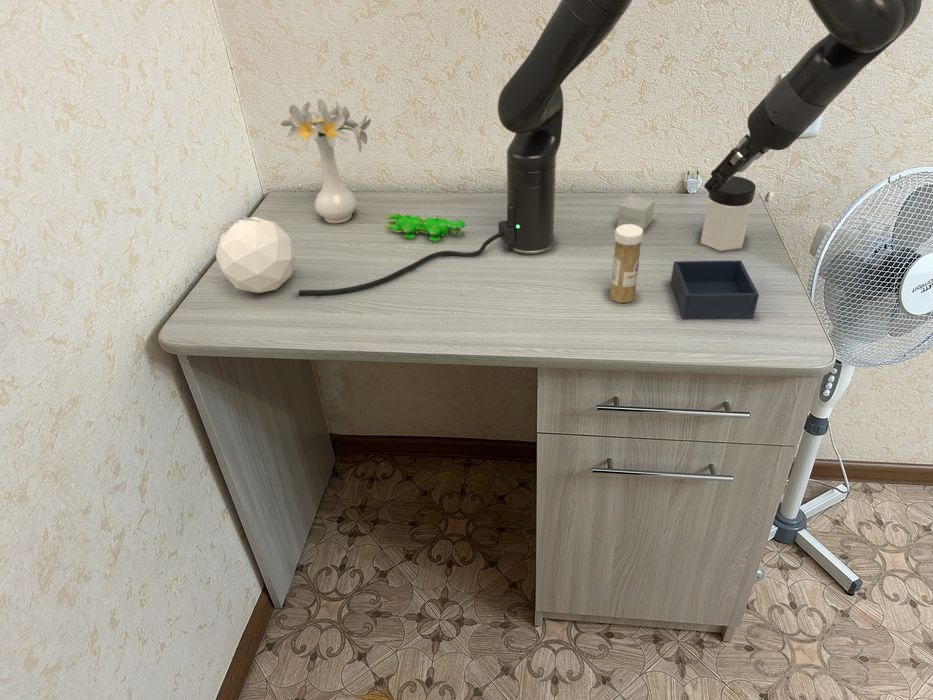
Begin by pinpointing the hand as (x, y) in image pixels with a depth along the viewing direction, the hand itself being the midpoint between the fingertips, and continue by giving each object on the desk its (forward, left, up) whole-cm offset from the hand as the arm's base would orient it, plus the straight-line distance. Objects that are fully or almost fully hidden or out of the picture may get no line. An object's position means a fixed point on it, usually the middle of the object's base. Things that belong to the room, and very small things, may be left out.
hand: (723, 178), depth 112 cm
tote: (0, -6, -20) cm, 21 cm away
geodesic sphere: (-82, +1, -20) cm, 85 cm away
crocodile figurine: (-53, +21, -20) cm, 61 cm away
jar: (+7, +16, -20) cm, 27 cm away
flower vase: (-73, +30, -20) cm, 82 cm away
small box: (-9, +24, -20) cm, 33 cm away
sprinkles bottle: (-15, -4, -20) cm, 26 cm away
